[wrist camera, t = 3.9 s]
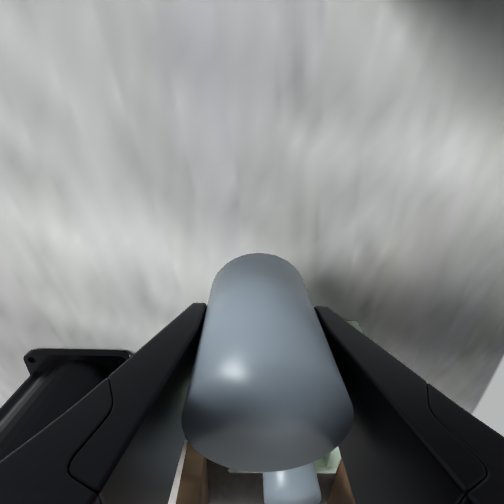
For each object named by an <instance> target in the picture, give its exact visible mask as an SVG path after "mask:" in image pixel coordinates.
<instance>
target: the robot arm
mask: <svg viewBox="0 0 504 504" xmlns="http://www.w3.org/2000/svg"><path fill="white" fill-rule="evenodd" d="M206 309H207V305H206V304H205V303H193V304H192V305H190V306H189V307H188V308H187V309H186V310H185V311H183V312H182V313H181V314H180V315H179V316H178V317H176V318H175V319H174V320H173V321H172V322H171V323H170V324H168V325H167V326H166V327H165V328H164V329H163V330H161V331H160V332H159V333H158V334H157V335H156V336H155V337H153V338H152V339H151V340H150V341H149V342H148V343H146V344H145V345H144V346H143V347H142V348H141V349H139V350H138V351H137V352H136V353H135V354H134V355H133V356H131V357H129V355H128V354H127V353H126V352H123V351H88V350H30V351H29V352H28V353H27V354H26V355H25V356H24V362H25V364H26V366H27V368H28V371H29V373H30V376H29V378H28V379H27V380H26V381H25V382H24V383H23V384H22V385H21V386H20V387H19V388H18V390H17V391H16V392H15V393H14V394H13V395H12V396H11V397H10V398H9V399H8V400H7V402H6V403H5V404H4V405H3V406H2V407H1V408H0V504H168V501H169V497H170V493H171V489H172V485H173V481H174V478H175V474H176V470H177V466H178V462H179V458H180V455H181V451H182V447H183V443H184V439H185V435H184V433H183V429H182V425H181V416H182V411H183V407H184V402H185V398H186V394H187V390H188V385H189V381H190V377H191V373H192V369H193V364H194V360H195V356H196V352H197V347H198V343H199V339H200V335H201V330H202V326H203V322H204V318H205V313H206ZM314 309H315V312H316V314H317V317H318V319H319V322H320V324H321V327H322V329H323V332H324V334H325V337H326V339H327V342H328V345H329V347H330V350H331V352H332V355H333V357H334V360H335V362H336V365H337V367H338V370H339V372H340V375H341V377H342V380H343V382H344V385H345V387H346V390H347V392H348V395H349V397H350V400H351V402H352V406H353V411H354V414H353V422H352V426H351V429H350V431H349V433H348V434H347V436H346V438H345V439H344V440H343V441H342V442H341V444H340V445H339V446H338V447H339V451H340V454H341V457H342V461H343V464H344V467H345V471H346V474H347V477H348V481H349V484H350V487H351V491H352V494H353V497H354V501H355V504H504V437H503V436H502V435H500V434H499V433H497V432H496V431H494V430H493V429H491V428H490V427H489V426H487V425H486V424H484V423H483V422H481V421H480V420H478V419H477V418H475V417H474V416H473V415H471V414H470V413H468V412H467V411H466V410H464V409H463V408H461V407H460V406H459V405H457V404H456V403H455V402H453V401H452V400H450V399H449V398H448V397H446V396H445V395H444V394H442V393H441V392H440V391H438V390H437V389H436V388H434V387H433V386H432V385H430V384H427V383H426V381H425V380H424V379H422V378H421V377H420V376H418V375H417V374H416V373H414V372H413V371H412V370H410V369H409V368H408V367H406V366H405V365H404V364H402V363H401V362H400V361H398V360H397V359H396V358H394V357H393V356H392V355H390V354H389V353H388V352H386V351H385V350H384V349H382V348H381V347H380V346H378V345H377V344H376V343H374V342H373V341H372V340H370V339H369V338H368V337H367V336H365V335H364V334H363V333H361V332H360V331H359V330H357V329H356V328H355V327H353V326H352V325H351V324H349V323H348V322H347V321H345V320H344V319H343V318H341V317H340V316H339V315H337V314H336V313H335V312H333V311H332V310H331V309H329V308H328V307H324V306H315V307H314Z"/></svg>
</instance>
